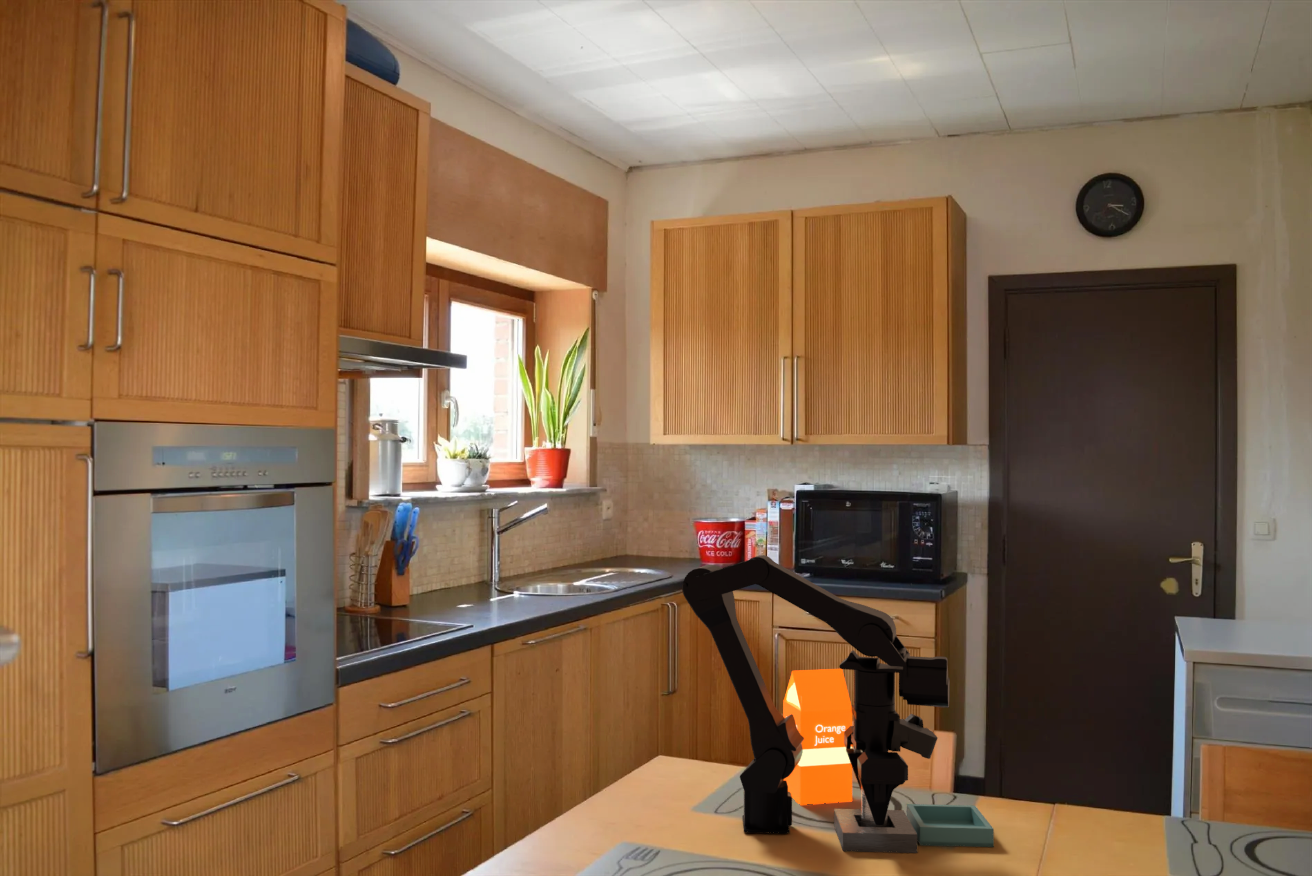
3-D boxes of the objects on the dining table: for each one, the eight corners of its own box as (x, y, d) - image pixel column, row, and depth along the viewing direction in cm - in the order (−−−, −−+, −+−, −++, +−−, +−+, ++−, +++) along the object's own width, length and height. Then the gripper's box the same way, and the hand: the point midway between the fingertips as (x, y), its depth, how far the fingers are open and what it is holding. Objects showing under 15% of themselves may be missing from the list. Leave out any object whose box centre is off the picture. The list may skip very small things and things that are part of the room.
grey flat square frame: (842, 851, 142) (842, 832, 142) (834, 826, 152) (834, 808, 152) (917, 853, 141) (917, 834, 141) (903, 827, 151) (903, 810, 151)
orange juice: (782, 790, 168) (782, 666, 169) (833, 787, 171) (833, 664, 171) (800, 806, 161) (800, 675, 162) (853, 802, 163) (853, 673, 164)
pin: (863, 843, 145) (863, 786, 145) (859, 834, 148) (859, 779, 149) (889, 844, 145) (889, 787, 145) (884, 835, 148) (884, 779, 148)
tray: (920, 845, 144) (920, 827, 144) (906, 821, 154) (906, 804, 154) (993, 847, 144) (993, 828, 144) (975, 822, 154) (975, 805, 154)
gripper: (947, 718, 137) (947, 838, 137) (918, 689, 156) (918, 794, 156) (861, 717, 138) (861, 836, 137) (843, 687, 157) (843, 792, 156)
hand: (874, 813), depth 147 cm, fingers open, 9 cm apart
